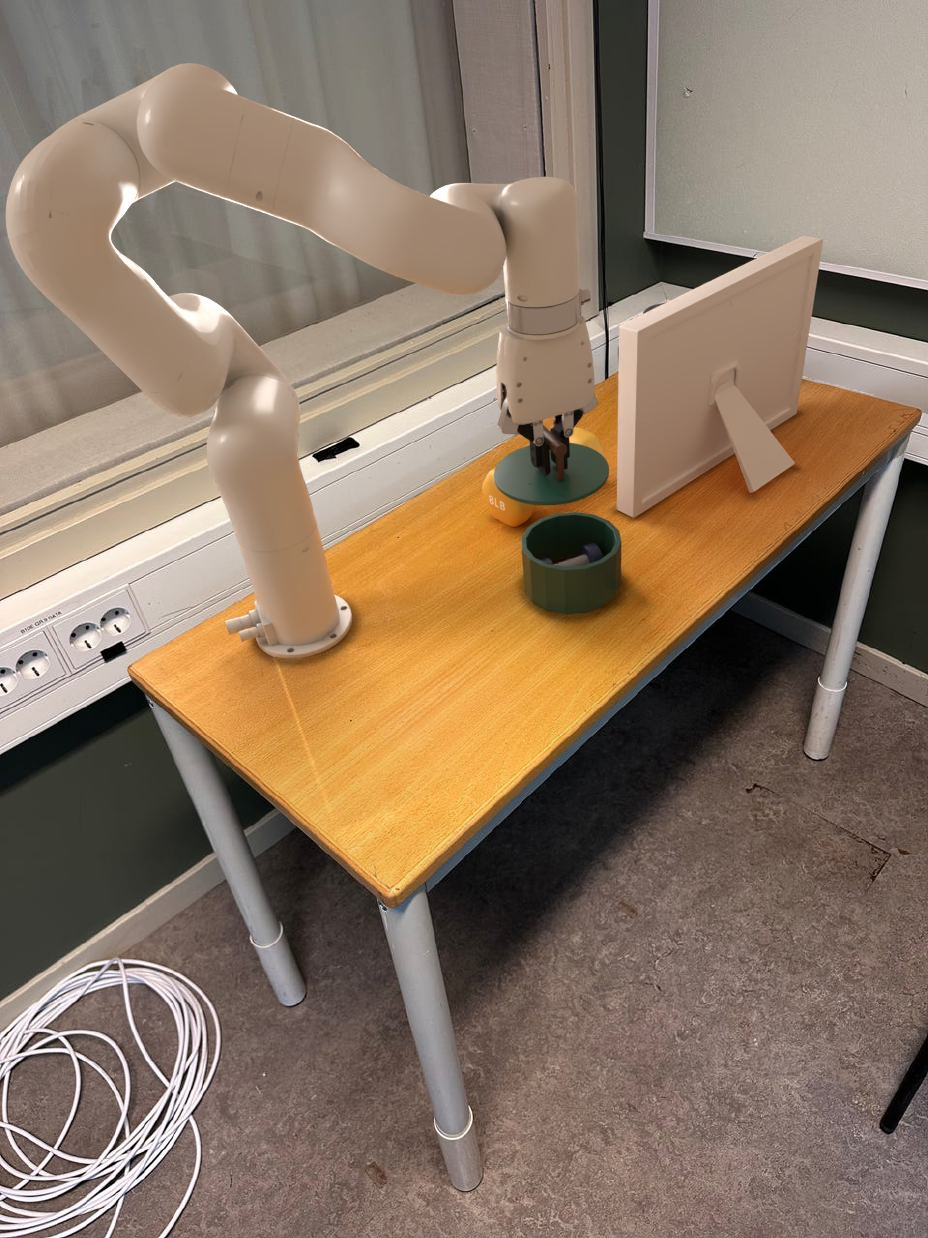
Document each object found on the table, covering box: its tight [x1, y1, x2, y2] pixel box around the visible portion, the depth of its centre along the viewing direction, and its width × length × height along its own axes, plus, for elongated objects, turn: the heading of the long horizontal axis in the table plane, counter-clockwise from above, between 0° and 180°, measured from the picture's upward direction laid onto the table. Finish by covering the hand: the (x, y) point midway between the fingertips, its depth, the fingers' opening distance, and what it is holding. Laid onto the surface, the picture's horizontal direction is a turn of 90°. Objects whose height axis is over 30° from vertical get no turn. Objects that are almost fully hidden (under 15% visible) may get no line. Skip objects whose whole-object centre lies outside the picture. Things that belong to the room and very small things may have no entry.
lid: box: [494, 424, 610, 507], centre depth 102 cm, size 13×13×6 cm
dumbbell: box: [481, 426, 608, 528], centre depth 130 cm, size 19×9×8 cm, turn 129°
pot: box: [520, 511, 623, 615], centre depth 114 cm, size 12×12×8 cm
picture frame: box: [616, 235, 824, 519], centre depth 125 cm, size 40×12×28 cm, turn 131°
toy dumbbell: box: [541, 543, 603, 567], centre depth 115 cm, size 8×4×4 cm, turn 112°
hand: (550, 466), depth 103 cm, fingers closed on lid, 1 cm apart
